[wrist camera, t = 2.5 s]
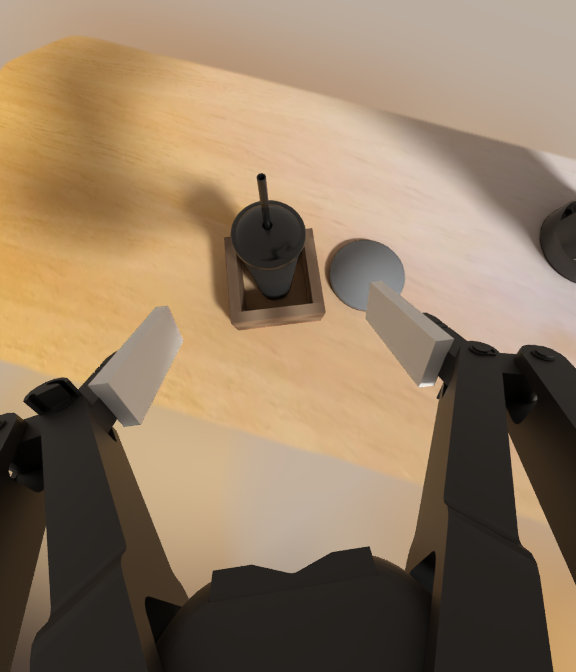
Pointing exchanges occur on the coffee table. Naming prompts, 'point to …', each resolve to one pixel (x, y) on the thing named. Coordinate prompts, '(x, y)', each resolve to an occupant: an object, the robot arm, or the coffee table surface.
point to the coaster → (364, 271)
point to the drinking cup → (269, 242)
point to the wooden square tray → (280, 314)
